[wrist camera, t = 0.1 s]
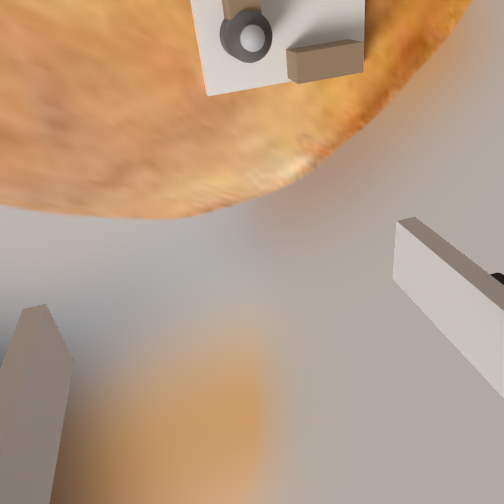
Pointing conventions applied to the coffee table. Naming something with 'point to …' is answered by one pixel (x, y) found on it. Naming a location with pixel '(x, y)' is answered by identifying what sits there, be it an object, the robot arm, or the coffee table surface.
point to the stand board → (283, 43)
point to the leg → (235, 19)
